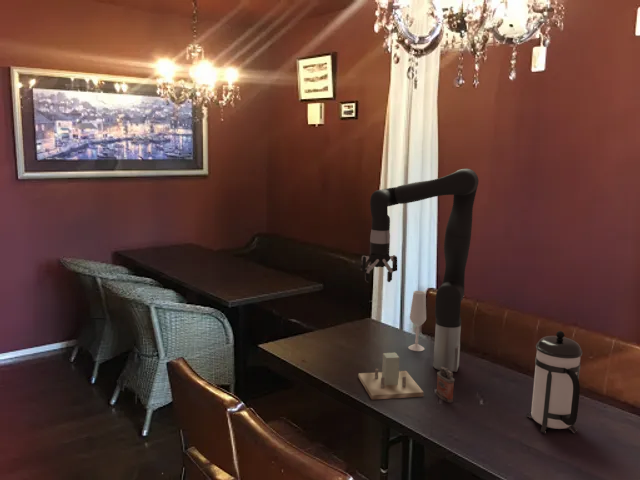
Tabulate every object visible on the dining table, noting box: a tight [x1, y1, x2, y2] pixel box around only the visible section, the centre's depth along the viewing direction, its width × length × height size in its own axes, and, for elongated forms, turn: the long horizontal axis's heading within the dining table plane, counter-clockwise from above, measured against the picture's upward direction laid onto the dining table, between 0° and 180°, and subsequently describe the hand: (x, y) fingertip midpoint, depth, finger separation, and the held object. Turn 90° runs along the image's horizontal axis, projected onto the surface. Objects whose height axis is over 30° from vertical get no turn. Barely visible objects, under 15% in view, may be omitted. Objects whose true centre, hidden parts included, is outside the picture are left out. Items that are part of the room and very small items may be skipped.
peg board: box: [357, 368, 424, 400], centre depth 196 cm, size 18×18×5 cm
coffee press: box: [526, 330, 583, 434], centre depth 168 cm, size 17×16×30 cm
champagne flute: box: [407, 290, 427, 352], centre depth 232 cm, size 7×7×24 cm
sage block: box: [381, 352, 400, 385], centre depth 196 cm, size 4×4×10 cm
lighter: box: [435, 367, 456, 403], centre depth 189 cm, size 8×3×10 cm, turn 21°
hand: (378, 281), depth 221 cm, fingers open, 8 cm apart
